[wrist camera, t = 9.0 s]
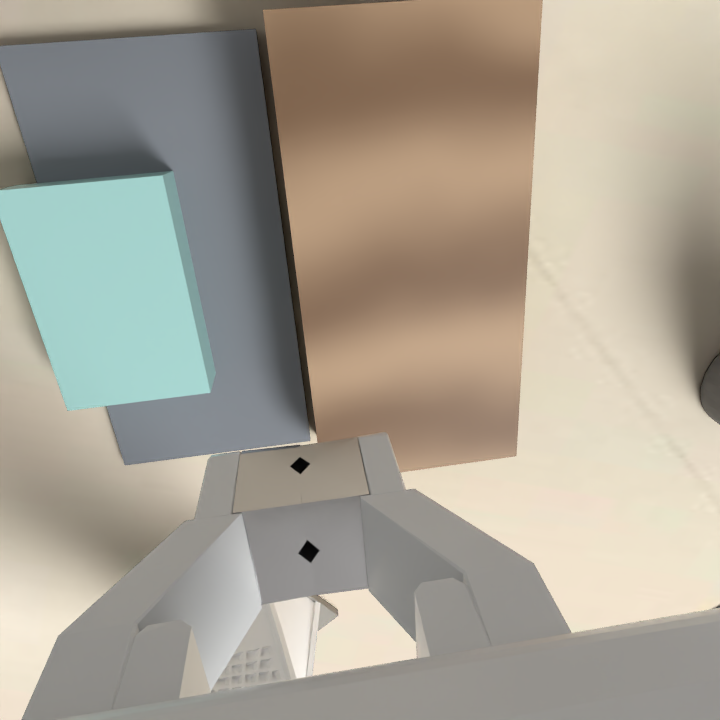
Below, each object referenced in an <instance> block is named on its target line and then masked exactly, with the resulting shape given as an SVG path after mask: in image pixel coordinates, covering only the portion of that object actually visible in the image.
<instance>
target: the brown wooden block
mask: <svg viewBox="0 0 720 720" xmlns="http://www.w3.org/2000/svg"><path fill="white" fill-rule="evenodd" d="M542 1H543V0H410V1H395V2H379V3H363V4H348V5H332V6H316V7H300V8H285V9H269V10H263V16H264V24H265V32H266V40H267V47H268V55H269V63H270V71H271V79H272V87H273V95H274V103H275V111H276V118H277V126H278V134H279V142H280V150H281V158H282V166H283V174H284V182H285V189H286V197H287V205H288V213H289V221H290V229H291V237H292V245H293V252H294V260H295V268H296V276H297V284H298V292H299V300H300V308H301V316H302V323H303V331H304V339H305V347H306V355H307V363H308V371H309V379H310V387H311V394H312V402H313V410H314V418H315V426H316V434H317V442H318V443H321V442H327V441H334V440H340V439H347V438H353V437H358V436H364V435H370V434H376V433H382V432H386V433H387V434H388V436H389V439H390V442H391V445H392V448H393V451H394V454H395V458H396V461H397V464H398V467H399V470H400V472H406V471H413V470H420V469H427V468H435V467H442V466H449V465H456V464H463V463H470V462H478V461H485V460H492V459H499V458H506V457H513V456H516V453H517V435H518V418H519V401H520V383H521V366H522V348H523V331H524V314H525V296H526V279H527V261H528V244H529V227H530V209H531V192H532V174H533V157H534V140H535V122H536V105H537V88H538V70H539V53H540V35H541V18H542Z"/></svg>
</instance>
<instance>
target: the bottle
mask: <svg viewBox="0 0 720 720" xmlns="http://www.w3.org/2000/svg"><path fill="white" fill-rule="evenodd" d="M701 403H702V406H703V408H704V410H705V411H706V413H707V414H708V415H709V416H710V417H711V418H712V419H713V420H714V421H716V422H717V423H718V424H720V354H719V355H718V356H717V357H716V358H715V359H714V361H713V362H712V363H711V365H710V367H709V368H708V370H707V372H706V374H705V376H704V379H703V382H702V386H701Z"/></svg>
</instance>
